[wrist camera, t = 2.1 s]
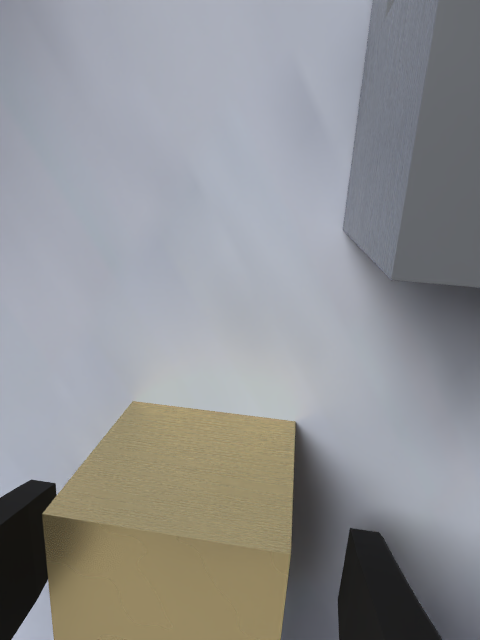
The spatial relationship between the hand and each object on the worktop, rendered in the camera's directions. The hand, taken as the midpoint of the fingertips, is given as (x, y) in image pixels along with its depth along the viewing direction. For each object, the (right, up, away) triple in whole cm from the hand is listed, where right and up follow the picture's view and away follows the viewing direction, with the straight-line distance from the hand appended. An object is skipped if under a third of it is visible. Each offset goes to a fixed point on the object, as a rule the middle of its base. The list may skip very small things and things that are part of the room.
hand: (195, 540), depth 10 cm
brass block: (0, 0, +1) cm, 2 cm away
